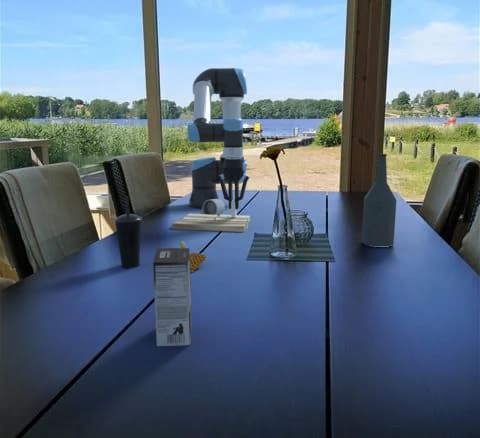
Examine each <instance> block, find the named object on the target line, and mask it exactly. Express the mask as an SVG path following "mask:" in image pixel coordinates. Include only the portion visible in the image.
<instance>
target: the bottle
mask: <svg viewBox="0 0 480 438" xmlns="http://www.w3.org/2000/svg"><path fill="white" fill-rule="evenodd" d="M376 169H377V170H376V175H375V181H374V183H373V185H372V186H371V188H370V189H369V191H368V192H367V194H366V195H365V196H364V198H363V214H362V215H363V216H362V217H363V218H362V232H361V236H362V237H361V241H362V244H363V243H364V244H366V245H372V246H390V245H392V246H393V245H394V241H395V226H396V215H397V214H396V212H397V198H396V196H395V195H394V193H393V191H392V189H391V188H390V185H389V184H388V177H387V176H388V173H387V154H386V153H379V155H378V162H377V168H376ZM364 244H363V245H364Z"/></svg>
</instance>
